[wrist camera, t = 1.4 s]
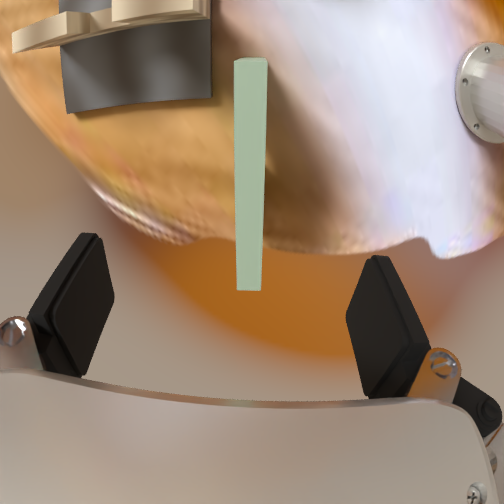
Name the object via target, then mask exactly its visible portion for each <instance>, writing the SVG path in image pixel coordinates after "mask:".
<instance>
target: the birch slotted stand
mask: <svg viewBox="0 0 504 504" xmlns="http://www.w3.org/2000/svg"><path fill="white" fill-rule="evenodd" d="M211 3H212V0H59V14H57V15H54V16H52V17H49V18H46V19H44V20H41V21H39V22H36V23H34V24H31V25H29V26H27V27H24V28H22V29H20V30H17V31H15V32H13V33H12V48H13V53H18V52H23V51H28V50H34V49H40V48H47V47H54V46H60V54H61V67H62V78H63V87H64V96H65V104H66V111H67V114H70V113H75V112H81V111H86V110H92V109H98V108H105V107H112V106H119V105H127V104H135V103H144V102H154V101H166V100H180V99H198V98H211V97H212V36H211Z"/></svg>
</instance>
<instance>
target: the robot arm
mask: <svg viewBox="0 0 504 504" xmlns="http://www.w3.org/2000/svg"><path fill="white" fill-rule="evenodd" d="M455 94H456V101H457V105H458V109H459V112H460V114H461V117H462V119H463V121H464V122H465V124H466V125H467V127H468V128H469V129H470V130H471V131H472V132H473V134H475V135H476V136H478V137H479V138H481V139H483V140H484V141H486V142H490V143H497V144H500V143H504V46H503V45H501V44H498V43H492V42H482V43H479V44H476V45H475V46H473V47H472V48H470V49H469V50H468V51H467V52H466V53H465V55H464V56H463V58H462V60H461V62H460V64H459V67H458V70H457V74H456V81H455ZM113 303H114V291H113V287H112V282H111V278H110V274H109V269H108V265H107V260H106V255H105V250H104V246H103V241H102V239H101V238H99V237H98V235H97V234H96V233H81V234H80V235H79V236H78V238H77V239H76V240H75V242H74V243H73V245H72V246H71V247H70V249H69V250H68V252H67V253H66V255H65V256H64V258H63V259H62V261H61V262H60V263H59V265H58V266H57V268H56V269H55V271H54V272H53V274H52V276H51V277H50V279H49V280H48V282H47V283H46V285H45V287H44V288H43V290H42V291H41V293H40V294H39V296H38V298H37V299H36V301H35V303H34V304H33V306H32V308H31V309H30V311H29V315H28V316H27V318H26V319H25V318H24V317H21V316H14V317H10V318H8V319H6V320H5V321H4V322H2V323H1V324H0V504H504V423H502V411H501V409H500V406H499V404H498V403H497V402H496V401H495V400H494V399H493V398H492V397H490V396H489V395H487V394H486V393H484V392H483V391H481V390H480V389H478V388H477V387H475V386H474V385H472V384H471V383H469V382H468V381H466V380H465V379H463V378H462V377H460V376H461V366H460V363H459V361H458V359H457V358H456V356H455V355H454V354H452V353H451V352H450V351H448V350H446V349H444V348H433V349H431V346H430V344H429V340H428V338H427V336H426V333H425V331H424V328H423V326H422V324H421V322H420V320H419V318H418V315H417V313H416V311H415V309H414V307H413V304H412V302H411V300H410V298H409V296H408V294H407V292H406V290H405V288H404V286H403V284H402V282H401V280H400V278H399V276H398V274H397V272H396V270H395V268H394V266H393V264H392V262H391V260H390V258H389V257H388V256H379V255H373V256H372V257H371V259H367V260H366V263H365V265H364V268H363V270H362V273H361V276H360V278H359V281H358V284H357V287H356V289H355V291H354V294H353V297H352V299H351V302H350V304H349V307H348V310H347V312H346V323H347V327H348V330H349V334H350V338H351V342H352V346H353V350H354V354H355V358H356V362H357V366H358V371H359V375H360V379H361V383H362V388H363V392H364V394H365V396H368V397H369V399H364V400H342V401H301V402H300V401H291V402H290V401H253V400H234V399H220V398H208V397H197V396H188V395H179V394H170V393H163V392H155V391H148V390H142V389H135V388H129V387H123V386H118V385H112V384H107V383H102V382H96V381H92V380H87V379H82V378H81V377H82V375H85V374H86V373H87V370H88V368H89V365H90V362H91V359H92V357H93V354H94V351H95V349H96V346H97V343H98V341H99V338H100V335H101V333H102V330H103V328H104V325H105V323H106V320H107V318H108V315H109V313H110V311H111V308H112V306H113Z"/></svg>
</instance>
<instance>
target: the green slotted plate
mask: <svg viewBox="0 0 504 504" xmlns="http://www.w3.org/2000/svg"><path fill="white" fill-rule="evenodd" d="M267 66H268V61H267V60H266V59H265V58H264V57H242V58H240V59H238V60H236V61H234V159H235V221H236V267H237V290H261V269H262V243H263V214H264V182H265V148H266V110H267Z"/></svg>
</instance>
